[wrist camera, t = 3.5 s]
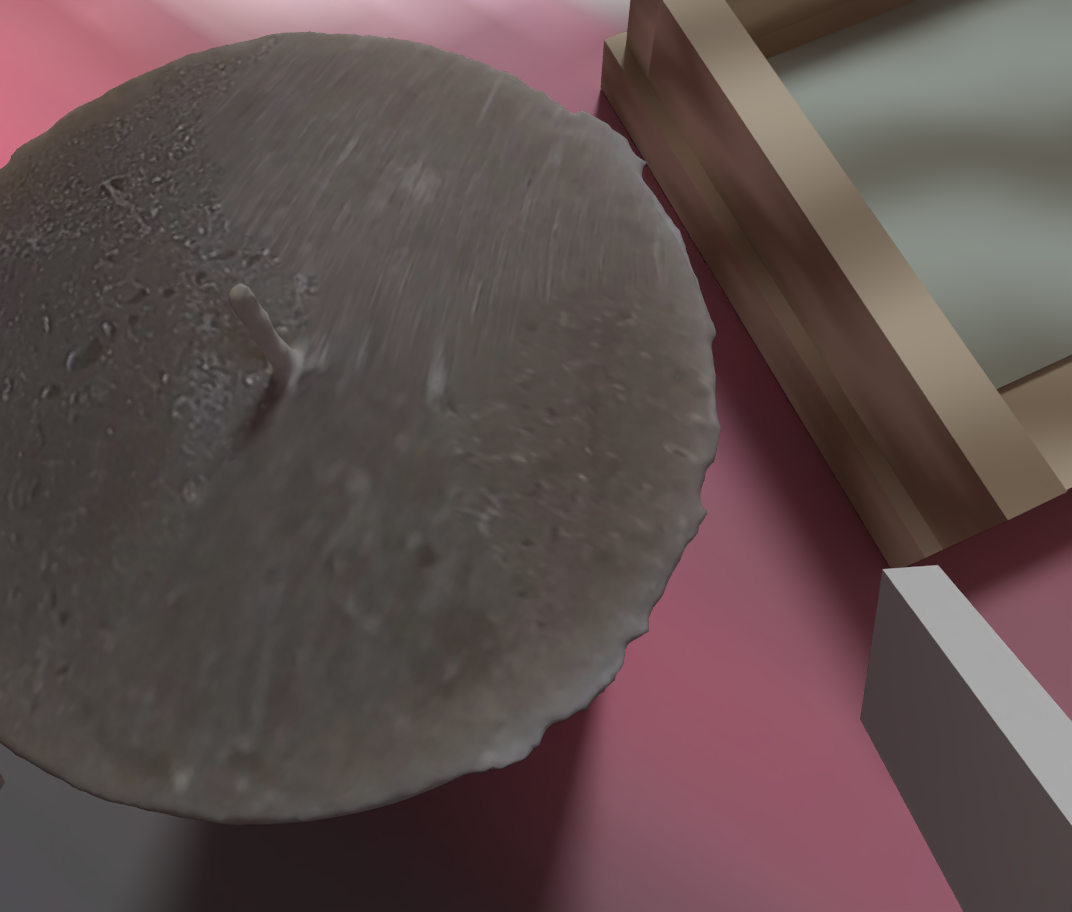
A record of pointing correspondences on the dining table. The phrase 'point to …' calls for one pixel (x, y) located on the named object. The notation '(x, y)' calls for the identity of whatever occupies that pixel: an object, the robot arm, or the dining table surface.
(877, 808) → the dining table surface
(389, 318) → the pillar candle
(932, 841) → the robot arm
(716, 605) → the dining table surface
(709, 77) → the wooden tray
